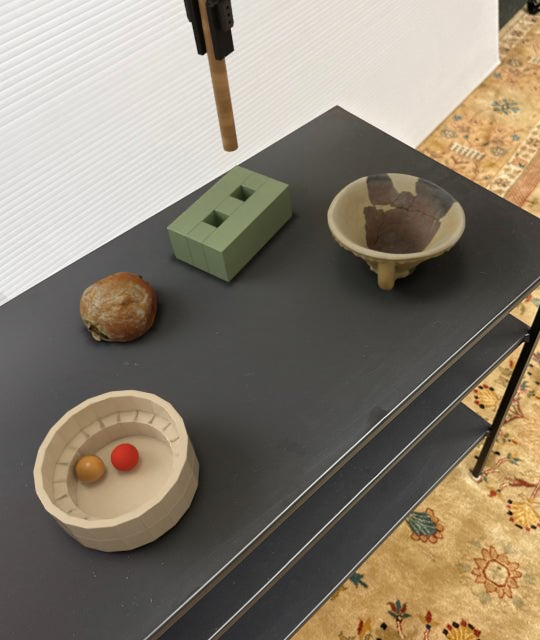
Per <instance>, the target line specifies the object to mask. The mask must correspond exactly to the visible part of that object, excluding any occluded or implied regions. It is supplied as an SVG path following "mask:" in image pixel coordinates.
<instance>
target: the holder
mask: <svg viewBox="0 0 540 640" xmlns="http://www.w3.org/2000/svg"><path fill="white" fill-rule="evenodd" d="M292 217H293V209H292V201H291V191H290V184H288V183H285V182H283V181H279V180H277V179H274V178H272V177H269V176H267V175H264V174H261V173H258V172H256V171H253V170H250V169H248V168H245V167H242V166H239V165H237V164H236V165H235V166H233V167H232V168H231V169H230V170H229V171H228V172H226V173H225V175H223V176H222V177H221V178H220V179H219V180H218V181H217V182H215V183H214V184H213V185H212V186H211V187H210V188H209V189H208V190H207V191H206V192H205V193H203V194H202V195H201V196H200V197H199V198H198V199H197V200H196V201H195V202H193V203H192V204H191V205H190V206H189V207H188V208H187V209H185V210H184V211H183V212H182V213H181V214H180V215H179V216H178V217H176V219H174V221H173V222H171V223H170V224H169V225H168V226H167V227H166V230H167V233H168V236H169V239H170V243H171V246H172V249H173V253H174V256H175V258H176V259H177V260H180V261H182V262H184V263H186V264H188V265H190V266H192V267H195V268H197V269H199V270H202V271H203V272H206V273H207V274H210V275H212V276H214V277H216V278H218V279H221V280H223V281H225V282H227V283H230V282H231V281H232V280H233V279H234V278H235V277H236V275H238V274H239V273H240V271H242V269H243V268H244V267H245V266H246V265H247V264H248V263H249V262H250V261H251V260H252V259H253V258H254V256H256V255H257V253H259V252H260V251H261V249H262V248H263V247H264V246H265V245H266V244H267V243H268V242H269V241H270V240H271V239H272V238H273V237H274V236H275V235H276V234H277V233H278V232H279V231H280V229H281V228H282V227H283V226H284V225H285V224H286V223H287V222H288V221H289V220H290V219H291V218H292Z"/></svg>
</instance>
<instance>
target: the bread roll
mask: <svg viewBox="0 0 540 640" xmlns="http://www.w3.org/2000/svg"><path fill="white" fill-rule="evenodd" d="M157 310H158V297H157V295H156V292H155V290H154V288H153V286H151V284H150V283H149V281H146V280H144V279H143V276H142V275H140V274H136V273H131V272H129V271H119V272H117V273H114V274H110V275H108V276H107V277H105V278H102V279H100V280H97V281H96V282H94V283H91V285H89V286H88V287H87V288H86V289H84V290H83V293H82V295H81V297H80V300H79V315H80V317H81V320H82V322H83V324H84V325H85V327H86V328H87V330H88V332H90V333H91V335H92V337H93V338H94V339H95V340H96V341H99V342H101V341H106V342H123V343H125V342H131V341H134V340H137V339H138V338H140V337H142V336H143V335H144V334H146V332H148V331H149V330H150V329H151V327H152V326H153V325H154V322H155V318H156V314H157Z"/></svg>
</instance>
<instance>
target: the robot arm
mask: <svg viewBox="0 0 540 640" xmlns="http://www.w3.org/2000/svg"><path fill="white" fill-rule="evenodd" d="M183 4H184V5H183V6H184V9H185V15H186V18H187V20H188V22H189V23H191V27H192V33H193V37H194V42H195V48H196V51H197V55H199V56H202V57H203V56H204V55H206V54H207V50H206V44H205V39H204V33H203V27H202V21H201V15H200V9H199V3H198V0H183ZM205 6H206V11H207V16H208V22H209V27H210V33H211V38H212V44H213V49H214V55H215V60H219V61H221V60H223V59H224V58H225V59H226V57H228V56H230V55H231V54H232V53H233V52H235V44H234V38H233V33H232V28H233V27H234V26H235V20H234V14H233V7H232V0H206V3H205Z"/></svg>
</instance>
